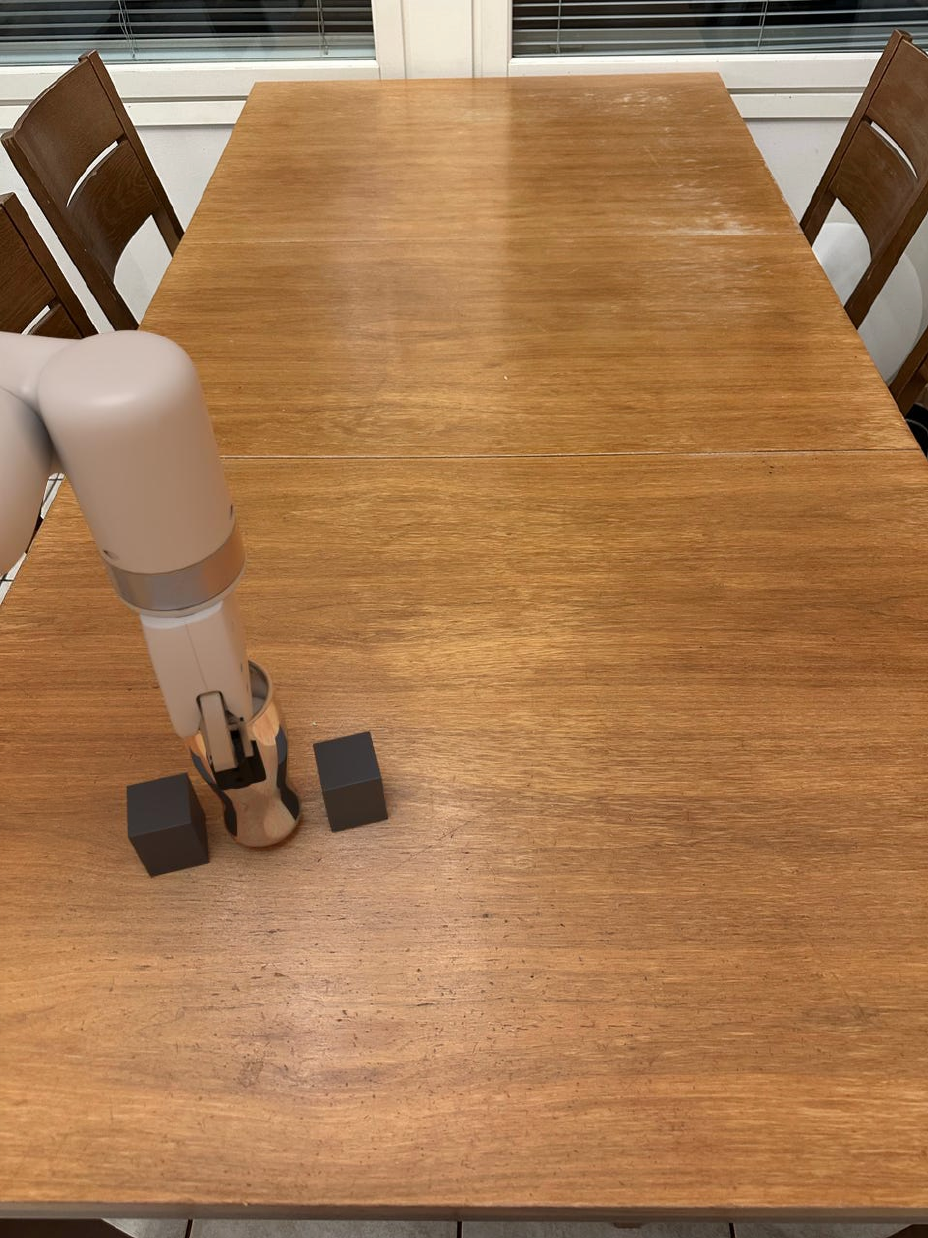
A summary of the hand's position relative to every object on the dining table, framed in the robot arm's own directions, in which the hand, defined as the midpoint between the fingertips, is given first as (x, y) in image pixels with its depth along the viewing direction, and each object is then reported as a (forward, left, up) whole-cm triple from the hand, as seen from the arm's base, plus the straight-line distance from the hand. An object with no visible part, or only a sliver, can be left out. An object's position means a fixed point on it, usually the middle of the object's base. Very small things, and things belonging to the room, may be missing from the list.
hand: (237, 736), depth 66 cm
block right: (+7, 0, -12) cm, 14 cm away
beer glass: (0, 0, -10) cm, 10 cm away
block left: (-7, 0, -12) cm, 14 cm away
